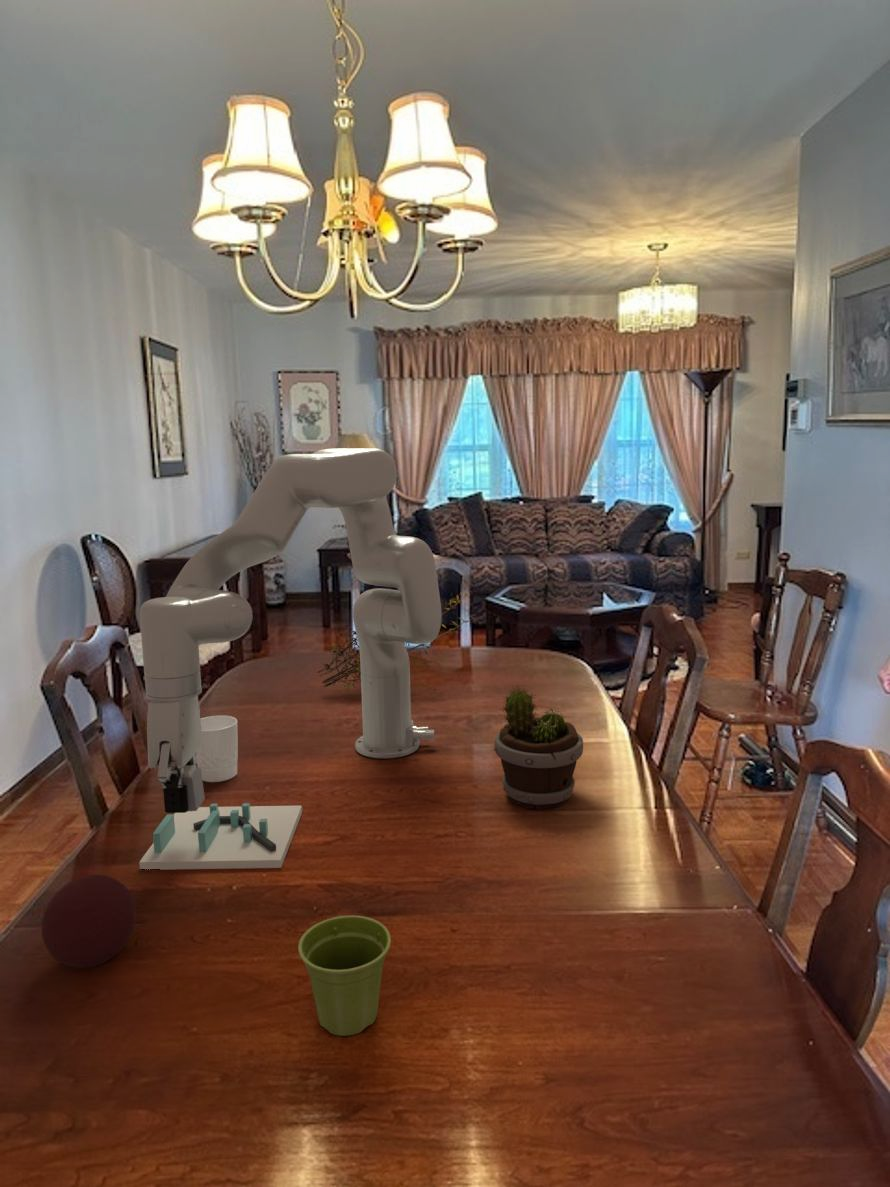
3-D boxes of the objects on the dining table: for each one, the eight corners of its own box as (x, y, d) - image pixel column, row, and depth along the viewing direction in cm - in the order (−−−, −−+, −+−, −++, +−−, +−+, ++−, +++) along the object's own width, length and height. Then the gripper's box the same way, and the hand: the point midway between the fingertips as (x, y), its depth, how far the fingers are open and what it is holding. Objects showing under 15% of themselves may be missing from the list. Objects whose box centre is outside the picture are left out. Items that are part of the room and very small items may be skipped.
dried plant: (289, 639, 169) (475, 547, 172) (299, 620, 200) (456, 542, 203) (353, 761, 174) (533, 669, 177) (352, 723, 204) (506, 646, 207)
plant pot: (306, 988, 87) (302, 917, 85) (392, 982, 87) (390, 911, 86) (298, 1053, 77) (293, 974, 76) (394, 1045, 78) (391, 967, 76)
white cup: (228, 785, 139) (224, 731, 137) (187, 782, 140) (183, 729, 138) (248, 767, 146) (244, 716, 144) (209, 764, 148) (205, 714, 146)
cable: (296, 835, 118) (296, 830, 118) (272, 852, 113) (272, 846, 113) (217, 814, 125) (217, 809, 125) (192, 829, 120) (191, 824, 120)
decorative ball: (147, 966, 91) (140, 887, 89) (51, 999, 85) (41, 916, 84) (130, 923, 99) (123, 850, 97) (42, 951, 94) (32, 874, 92)
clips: (275, 816, 124) (274, 802, 124) (264, 842, 116) (263, 827, 116) (212, 817, 124) (211, 803, 124) (196, 843, 116) (195, 828, 116)
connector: (204, 798, 117) (200, 763, 116) (196, 810, 113) (191, 774, 112) (178, 800, 117) (173, 765, 116) (168, 812, 113) (163, 776, 112)
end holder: (218, 832, 119) (216, 813, 119) (206, 852, 114) (204, 833, 113) (168, 832, 119) (167, 814, 119) (154, 853, 114) (152, 833, 113)
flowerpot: (592, 785, 136) (594, 674, 132) (567, 824, 123) (569, 702, 119) (513, 772, 142) (513, 665, 138) (481, 808, 129) (480, 691, 125)
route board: (302, 812, 128) (301, 805, 128) (281, 867, 111) (280, 859, 111) (179, 814, 128) (178, 807, 128) (140, 870, 111) (139, 862, 111)
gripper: (167, 668, 120) (175, 781, 123) (123, 703, 104) (134, 832, 107) (216, 668, 120) (223, 780, 123) (180, 702, 104) (189, 831, 107)
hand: (182, 803), depth 115 cm, fingers closed on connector, 4 cm apart
